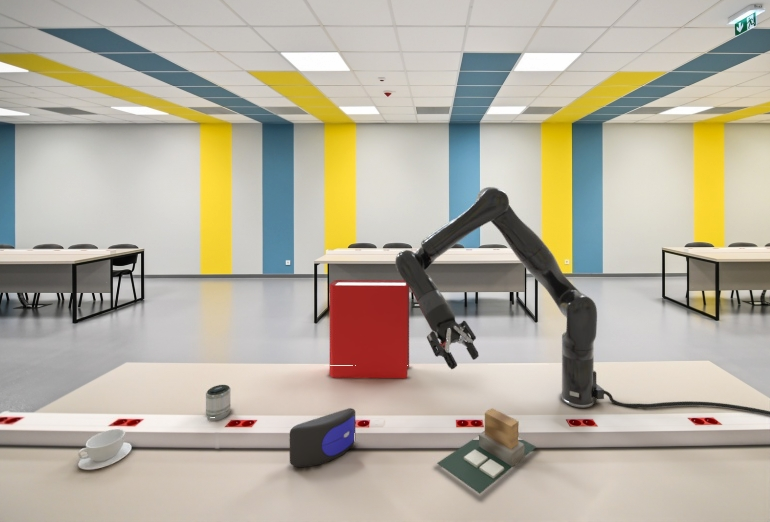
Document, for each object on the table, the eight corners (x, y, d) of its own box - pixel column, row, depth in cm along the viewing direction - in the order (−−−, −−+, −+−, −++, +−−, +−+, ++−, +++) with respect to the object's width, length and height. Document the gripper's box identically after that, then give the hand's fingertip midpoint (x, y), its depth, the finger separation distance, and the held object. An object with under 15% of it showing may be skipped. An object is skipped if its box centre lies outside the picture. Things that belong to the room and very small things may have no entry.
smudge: (490, 461, 94) (490, 458, 94) (504, 469, 91) (504, 467, 91) (479, 469, 92) (479, 467, 92) (493, 478, 89) (493, 476, 89)
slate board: (494, 428, 109) (494, 424, 109) (536, 451, 100) (536, 446, 100) (436, 468, 94) (436, 463, 94) (479, 499, 84) (479, 493, 84)
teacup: (128, 439, 105) (128, 421, 105) (134, 457, 97) (134, 438, 97) (76, 457, 98) (76, 437, 98) (79, 478, 90) (79, 457, 90)
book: (409, 367, 146) (409, 280, 146) (407, 378, 138) (407, 285, 138) (334, 367, 146) (334, 279, 146) (328, 377, 138) (328, 285, 138)
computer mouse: (293, 476, 91) (293, 435, 91) (288, 465, 95) (288, 425, 95) (360, 450, 100) (360, 413, 100) (353, 441, 104) (353, 404, 104)
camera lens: (202, 415, 115) (202, 388, 115) (225, 406, 120) (225, 380, 120) (210, 424, 111) (210, 396, 111) (234, 414, 116) (234, 387, 116)
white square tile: (474, 451, 98) (474, 449, 98) (487, 459, 95) (487, 457, 95) (463, 459, 95) (463, 456, 95) (476, 467, 92) (476, 465, 92)
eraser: (478, 446, 100) (478, 412, 100) (491, 437, 103) (491, 404, 103) (512, 466, 93) (512, 430, 92) (524, 456, 96) (524, 421, 96)
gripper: (423, 307, 107) (454, 364, 99) (459, 297, 117) (490, 348, 109) (411, 322, 111) (439, 378, 103) (446, 311, 121) (475, 361, 113)
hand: (465, 362), depth 106 cm, fingers open, 8 cm apart
